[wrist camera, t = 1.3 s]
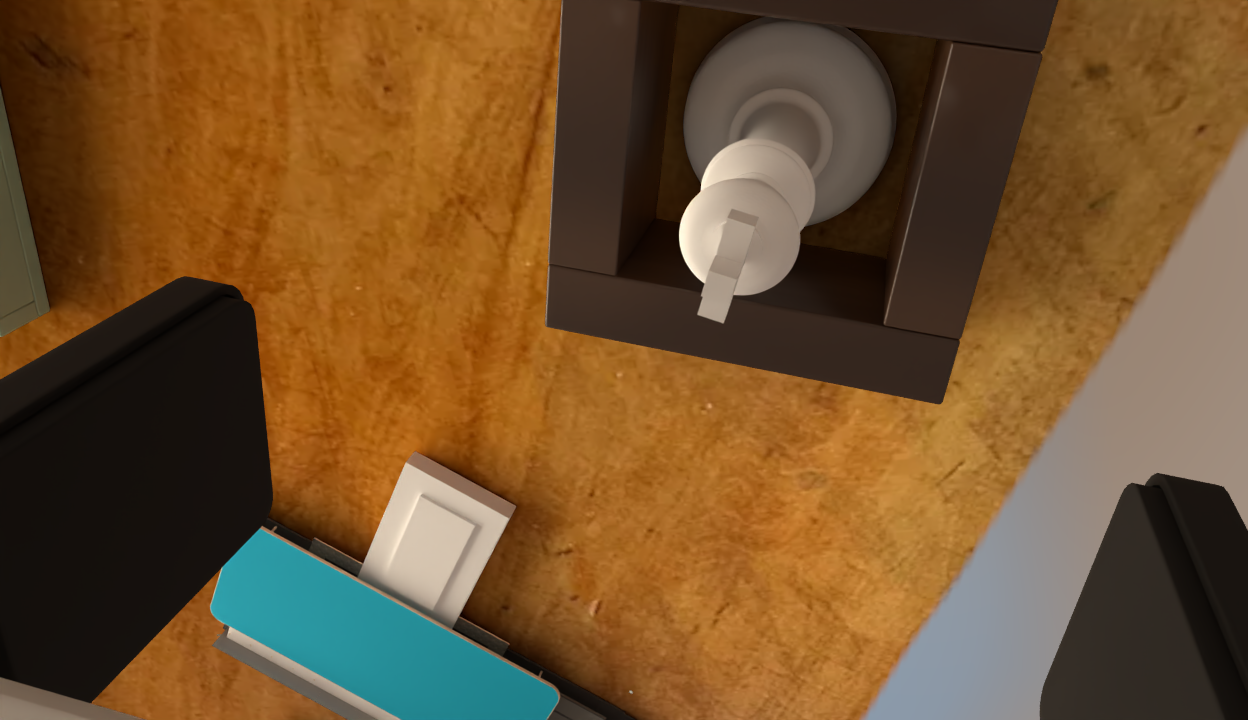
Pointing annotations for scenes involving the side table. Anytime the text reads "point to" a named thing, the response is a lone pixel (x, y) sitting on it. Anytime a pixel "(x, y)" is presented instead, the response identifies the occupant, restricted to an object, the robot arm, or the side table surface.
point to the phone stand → (391, 614)
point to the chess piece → (777, 148)
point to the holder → (820, 278)
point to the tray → (16, 244)
